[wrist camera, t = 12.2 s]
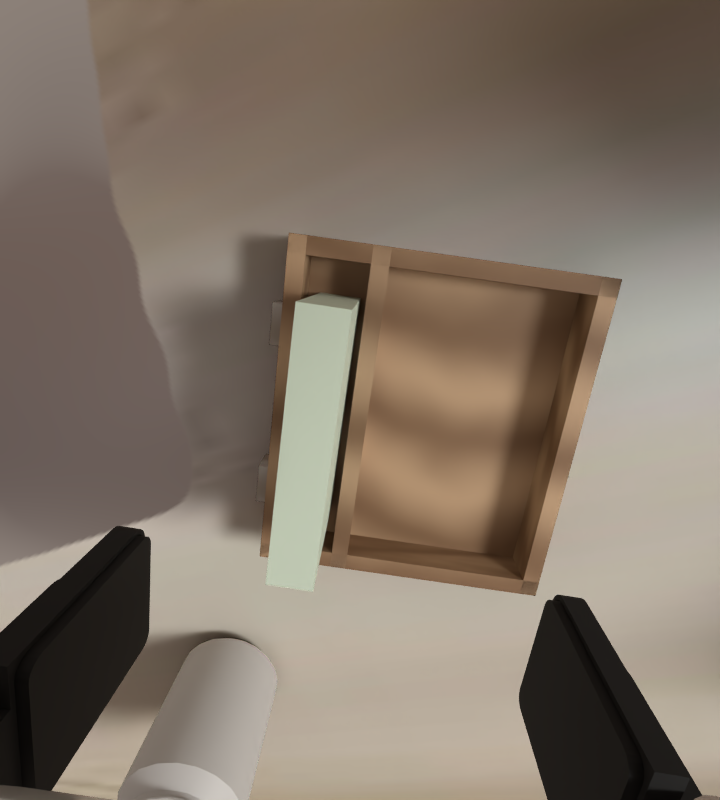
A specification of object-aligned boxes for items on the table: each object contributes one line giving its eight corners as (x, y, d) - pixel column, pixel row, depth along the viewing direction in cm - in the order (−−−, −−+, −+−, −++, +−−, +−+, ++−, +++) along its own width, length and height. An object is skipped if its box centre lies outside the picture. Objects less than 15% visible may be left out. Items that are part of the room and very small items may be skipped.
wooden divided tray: (289, 235, 29) (277, 231, 25) (593, 278, 29) (622, 279, 25) (263, 526, 34) (250, 554, 31) (519, 563, 34) (535, 595, 31)
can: (242, 614, 36) (177, 775, 25) (298, 682, 38) (262, 864, 26) (167, 655, 37) (71, 826, 26) (224, 719, 39) (157, 909, 27)
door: (319, 292, 29) (293, 301, 20) (360, 298, 29) (352, 309, 20) (295, 500, 32) (263, 584, 24) (331, 505, 32) (312, 591, 24)
